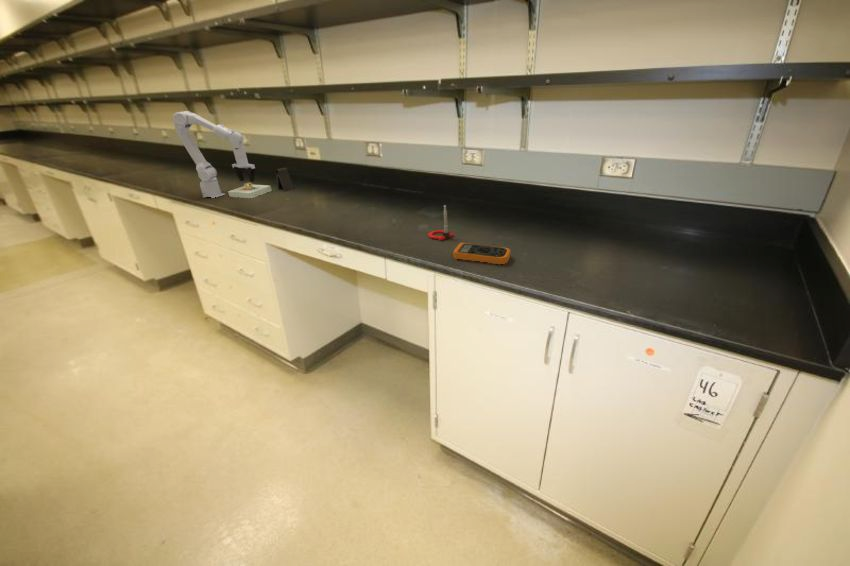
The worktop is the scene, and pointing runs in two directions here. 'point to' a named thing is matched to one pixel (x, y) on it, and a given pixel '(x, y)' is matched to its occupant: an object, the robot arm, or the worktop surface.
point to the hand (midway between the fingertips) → (247, 181)
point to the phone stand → (283, 179)
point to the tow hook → (445, 231)
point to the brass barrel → (248, 186)
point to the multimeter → (482, 253)
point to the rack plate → (250, 191)
